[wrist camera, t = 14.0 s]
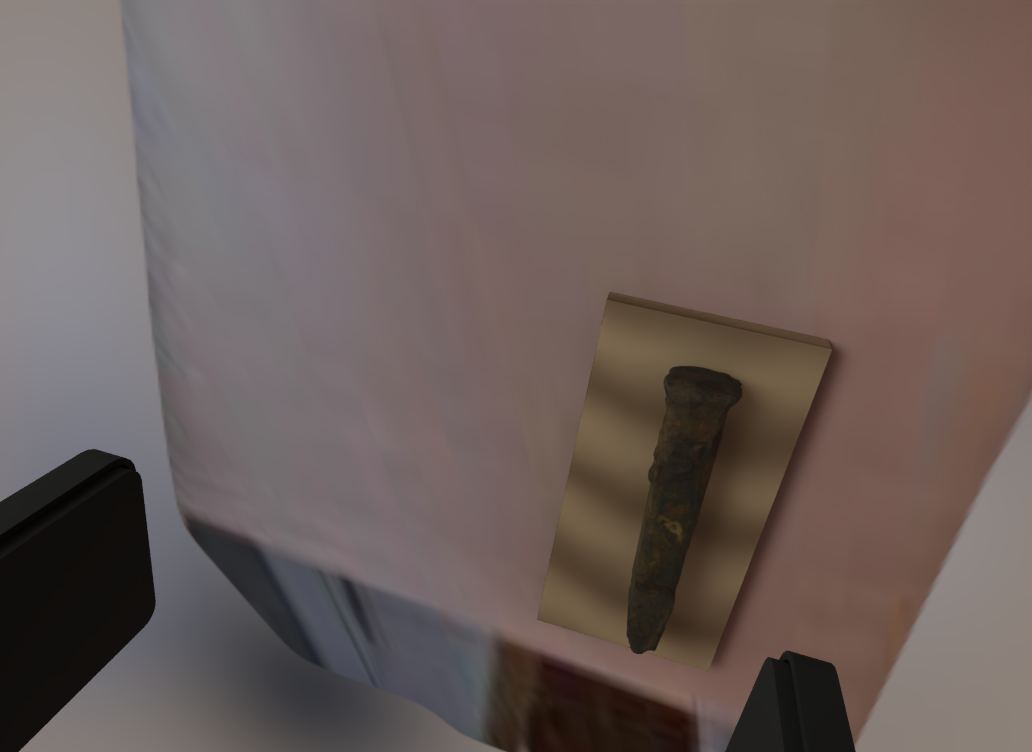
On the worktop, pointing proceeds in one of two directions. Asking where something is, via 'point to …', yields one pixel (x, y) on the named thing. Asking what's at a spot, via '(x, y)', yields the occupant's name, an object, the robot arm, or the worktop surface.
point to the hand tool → (676, 494)
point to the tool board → (629, 455)
